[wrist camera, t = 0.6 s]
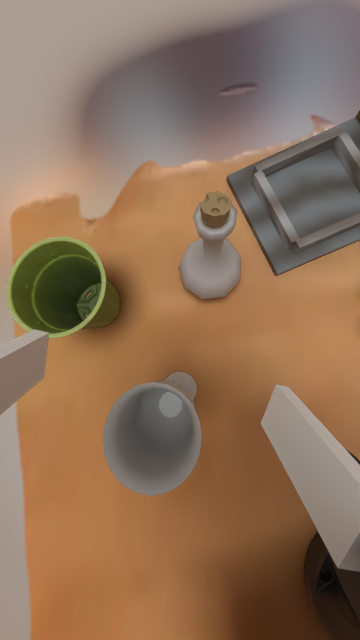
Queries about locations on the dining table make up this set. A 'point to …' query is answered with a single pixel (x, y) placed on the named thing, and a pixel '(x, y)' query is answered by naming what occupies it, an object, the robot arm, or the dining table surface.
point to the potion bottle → (212, 250)
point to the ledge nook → (304, 197)
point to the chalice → (154, 435)
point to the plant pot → (61, 288)
